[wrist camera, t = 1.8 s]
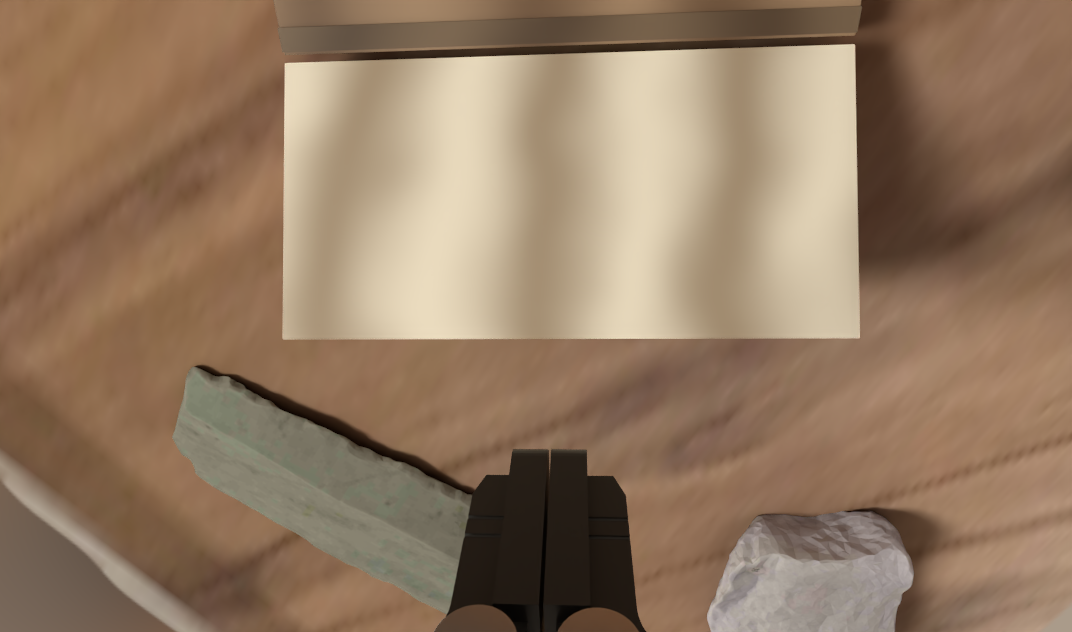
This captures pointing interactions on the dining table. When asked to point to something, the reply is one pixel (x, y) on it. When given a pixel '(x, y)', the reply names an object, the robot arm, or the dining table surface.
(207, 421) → the stone slab
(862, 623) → the stone block
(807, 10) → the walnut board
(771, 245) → the ash plank
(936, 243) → the dining table surface
